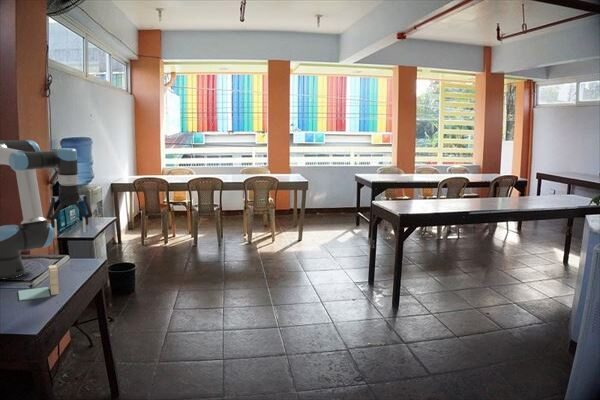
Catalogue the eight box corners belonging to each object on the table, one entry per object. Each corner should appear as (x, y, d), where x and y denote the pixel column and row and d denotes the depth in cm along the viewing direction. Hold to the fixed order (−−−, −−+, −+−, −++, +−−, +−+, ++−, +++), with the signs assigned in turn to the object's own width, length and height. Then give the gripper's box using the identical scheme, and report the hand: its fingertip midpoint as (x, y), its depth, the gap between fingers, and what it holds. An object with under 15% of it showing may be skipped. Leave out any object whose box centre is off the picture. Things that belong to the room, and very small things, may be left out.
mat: (18, 291, 207) (18, 290, 207) (47, 287, 213) (47, 286, 213) (19, 300, 198) (19, 299, 198) (50, 296, 204) (50, 295, 204)
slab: (49, 288, 212) (48, 265, 210) (57, 287, 214) (56, 264, 212) (51, 295, 206) (50, 271, 204) (59, 293, 207) (58, 270, 205)
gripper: (38, 186, 195) (41, 238, 199) (98, 184, 208) (100, 232, 212) (37, 183, 202) (39, 233, 206) (95, 181, 214) (97, 229, 218)
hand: (70, 233), depth 209 cm, fingers open, 11 cm apart
